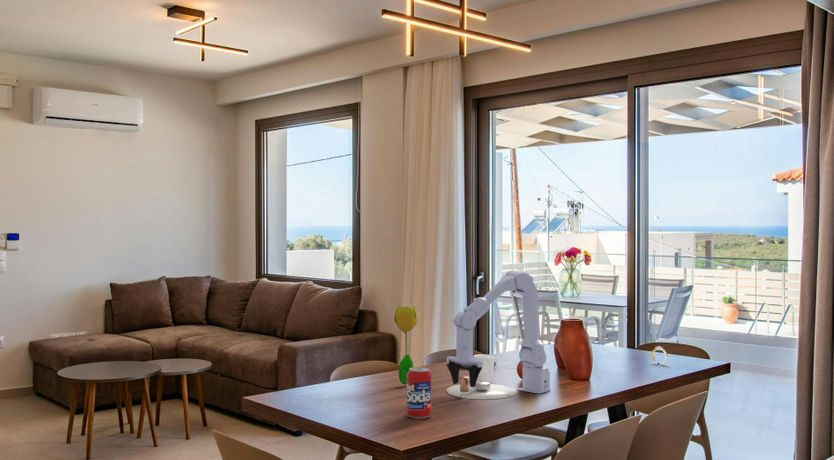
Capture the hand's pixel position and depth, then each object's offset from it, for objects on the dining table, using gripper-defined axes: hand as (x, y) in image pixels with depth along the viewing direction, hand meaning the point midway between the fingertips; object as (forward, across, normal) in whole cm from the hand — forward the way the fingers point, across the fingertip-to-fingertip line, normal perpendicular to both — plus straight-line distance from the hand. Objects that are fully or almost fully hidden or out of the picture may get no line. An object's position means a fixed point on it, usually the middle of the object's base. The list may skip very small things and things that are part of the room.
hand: (464, 385), depth 267 cm
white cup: (+4, -10, +25) cm, 27 cm away
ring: (+4, +23, +109) cm, 112 cm away
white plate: (+4, 0, +10) cm, 11 cm away
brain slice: (+4, -33, +50) cm, 60 cm away
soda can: (+4, +8, -33) cm, 34 cm away
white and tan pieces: (+3, 0, +6) cm, 6 cm away
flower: (+4, -27, -1) cm, 27 cm away
